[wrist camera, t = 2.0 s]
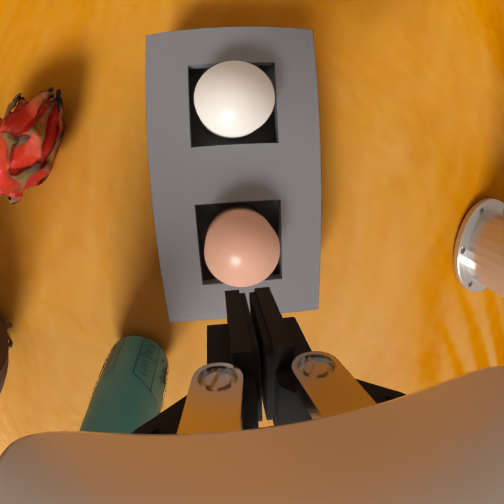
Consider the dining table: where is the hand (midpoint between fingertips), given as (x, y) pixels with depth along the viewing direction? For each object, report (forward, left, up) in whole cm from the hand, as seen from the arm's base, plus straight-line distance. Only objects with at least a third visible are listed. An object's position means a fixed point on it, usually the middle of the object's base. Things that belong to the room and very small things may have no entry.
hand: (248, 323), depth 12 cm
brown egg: (0, 0, -13) cm, 13 cm away
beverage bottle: (+11, +13, -17) cm, 24 cm away
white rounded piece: (0, -10, -13) cm, 16 cm away
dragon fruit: (+18, -10, -17) cm, 27 cm away
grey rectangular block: (0, -5, -17) cm, 18 cm away
